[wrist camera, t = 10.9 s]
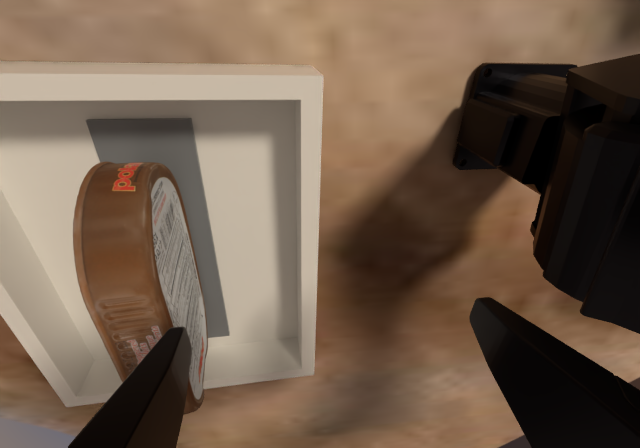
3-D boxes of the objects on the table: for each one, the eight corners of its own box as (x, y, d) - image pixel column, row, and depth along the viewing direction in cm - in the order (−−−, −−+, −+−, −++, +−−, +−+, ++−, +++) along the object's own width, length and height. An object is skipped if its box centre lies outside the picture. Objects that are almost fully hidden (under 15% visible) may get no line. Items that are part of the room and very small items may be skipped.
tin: (117, 137, 17) (17, 223, 10) (181, 136, 17) (130, 217, 10) (176, 331, 25) (144, 455, 18) (219, 327, 25) (204, 446, 18)
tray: (311, 65, 18) (323, 75, 14) (307, 334, 29) (314, 374, 26) (-76, 60, 15) (-171, 72, 12) (90, 358, 27) (66, 407, 23)
